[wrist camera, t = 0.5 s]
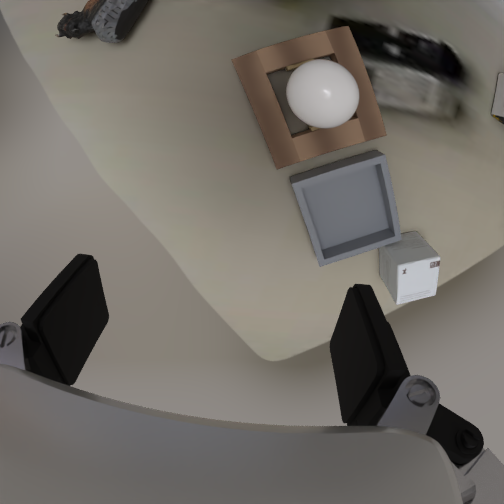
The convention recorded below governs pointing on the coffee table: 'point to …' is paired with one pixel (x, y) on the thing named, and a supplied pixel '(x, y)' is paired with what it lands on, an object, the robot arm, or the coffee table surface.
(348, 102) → the lightbulb
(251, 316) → the coffee table surface
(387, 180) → the tray
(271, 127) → the socket collar
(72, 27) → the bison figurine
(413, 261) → the skincare box
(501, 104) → the medicine bottle
